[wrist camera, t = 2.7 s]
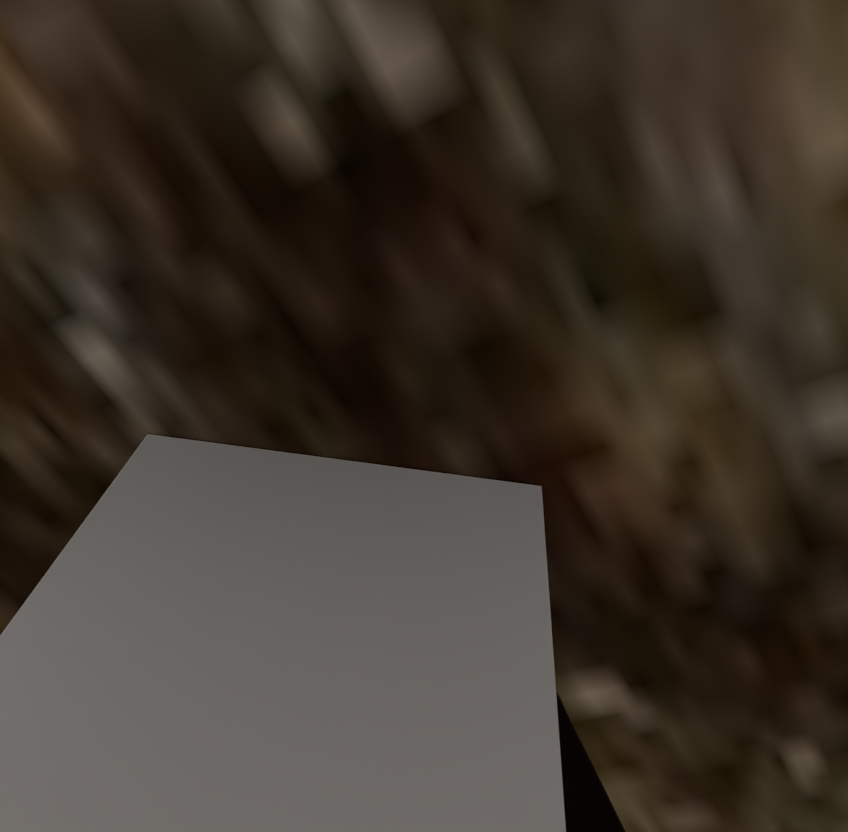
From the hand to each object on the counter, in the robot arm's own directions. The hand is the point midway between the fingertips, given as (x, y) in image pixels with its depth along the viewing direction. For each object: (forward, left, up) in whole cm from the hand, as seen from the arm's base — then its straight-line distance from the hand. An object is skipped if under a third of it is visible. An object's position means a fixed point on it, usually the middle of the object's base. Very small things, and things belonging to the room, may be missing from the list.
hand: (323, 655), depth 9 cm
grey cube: (0, 0, -1) cm, 1 cm away
